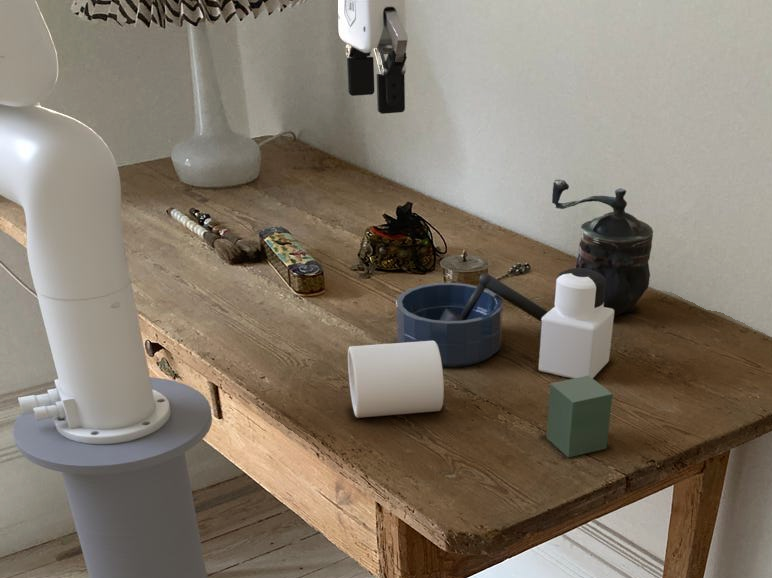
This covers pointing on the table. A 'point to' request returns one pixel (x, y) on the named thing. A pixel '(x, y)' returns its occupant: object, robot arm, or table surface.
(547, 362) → the medicine bottle
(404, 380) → the mug
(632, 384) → the table surface
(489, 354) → the bowl
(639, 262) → the coffee grinder
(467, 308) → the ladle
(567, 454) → the green rectangular block
